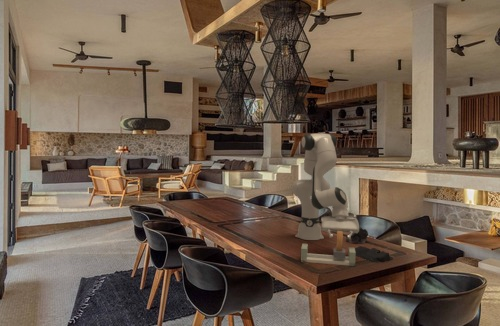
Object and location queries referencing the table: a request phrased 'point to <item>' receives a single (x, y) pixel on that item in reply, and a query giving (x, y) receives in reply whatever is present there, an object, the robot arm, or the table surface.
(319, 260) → the rail base
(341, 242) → the carriage
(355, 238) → the crystal cluster
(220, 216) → the table surface
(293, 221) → the table surface
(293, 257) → the table surface
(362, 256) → the dark flat rock slab
